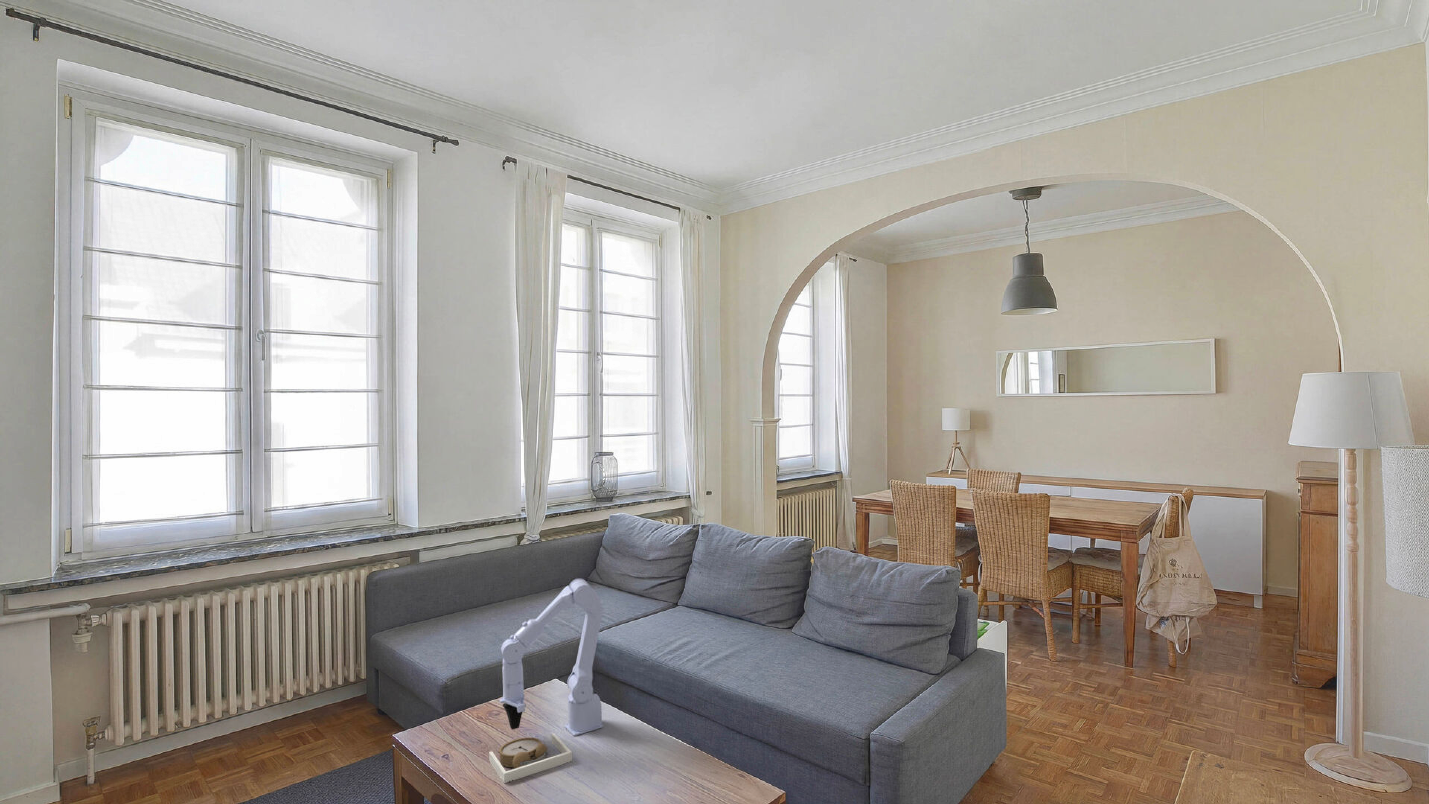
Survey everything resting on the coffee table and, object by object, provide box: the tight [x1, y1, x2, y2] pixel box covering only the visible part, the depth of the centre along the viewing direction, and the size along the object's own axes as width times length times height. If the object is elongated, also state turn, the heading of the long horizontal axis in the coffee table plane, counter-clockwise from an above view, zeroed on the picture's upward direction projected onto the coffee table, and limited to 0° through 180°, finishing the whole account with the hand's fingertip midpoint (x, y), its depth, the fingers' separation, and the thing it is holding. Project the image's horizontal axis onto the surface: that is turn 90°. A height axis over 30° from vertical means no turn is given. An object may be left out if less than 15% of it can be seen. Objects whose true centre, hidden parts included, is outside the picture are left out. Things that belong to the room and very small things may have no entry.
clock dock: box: [488, 732, 573, 784], centre depth 191 cm, size 19×14×2 cm
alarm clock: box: [497, 737, 549, 769], centre depth 192 cm, size 11×5×15 cm
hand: (514, 727), depth 203 cm, fingers closed
